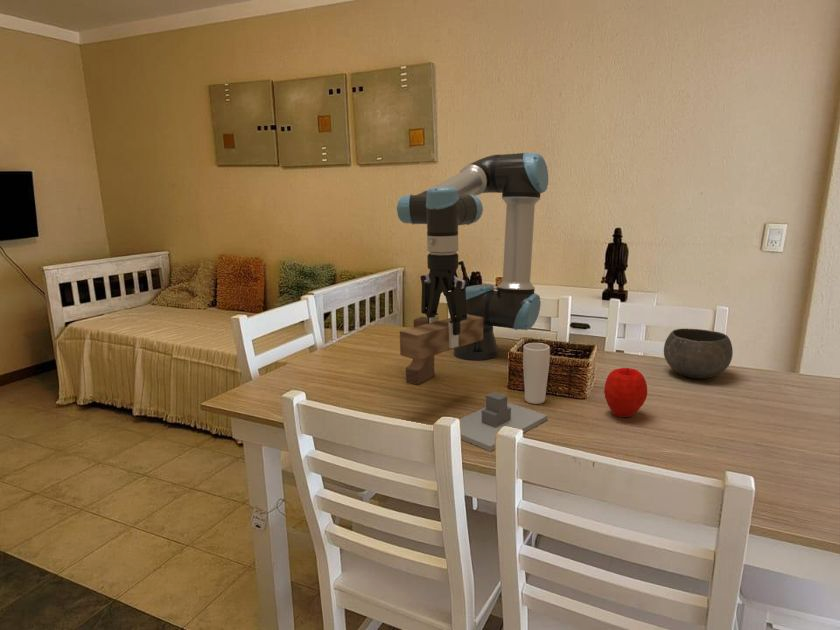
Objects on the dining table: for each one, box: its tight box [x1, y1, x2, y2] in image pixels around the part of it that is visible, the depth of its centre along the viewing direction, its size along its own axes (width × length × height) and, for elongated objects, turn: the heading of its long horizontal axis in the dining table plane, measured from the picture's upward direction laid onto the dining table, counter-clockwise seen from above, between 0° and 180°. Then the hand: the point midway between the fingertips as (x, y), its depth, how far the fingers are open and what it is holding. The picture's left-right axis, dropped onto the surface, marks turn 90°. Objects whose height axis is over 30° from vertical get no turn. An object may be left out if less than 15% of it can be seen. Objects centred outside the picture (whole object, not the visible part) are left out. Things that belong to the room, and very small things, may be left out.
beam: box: [399, 314, 483, 360], centre depth 136 cm, size 24×6×6 cm, turn 134°
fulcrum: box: [459, 391, 549, 452], centre depth 128 cm, size 22×14×8 cm, turn 134°
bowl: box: [663, 328, 734, 380], centre depth 158 cm, size 18×18×13 cm
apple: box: [603, 367, 648, 418], centre depth 132 cm, size 10×10×12 cm
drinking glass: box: [522, 342, 551, 405], centre depth 142 cm, size 7×7×15 cm
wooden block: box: [405, 316, 436, 385], centre depth 159 cm, size 9×4×18 cm, turn 146°
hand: (443, 344), depth 137 cm, fingers closed on beam, 6 cm apart
